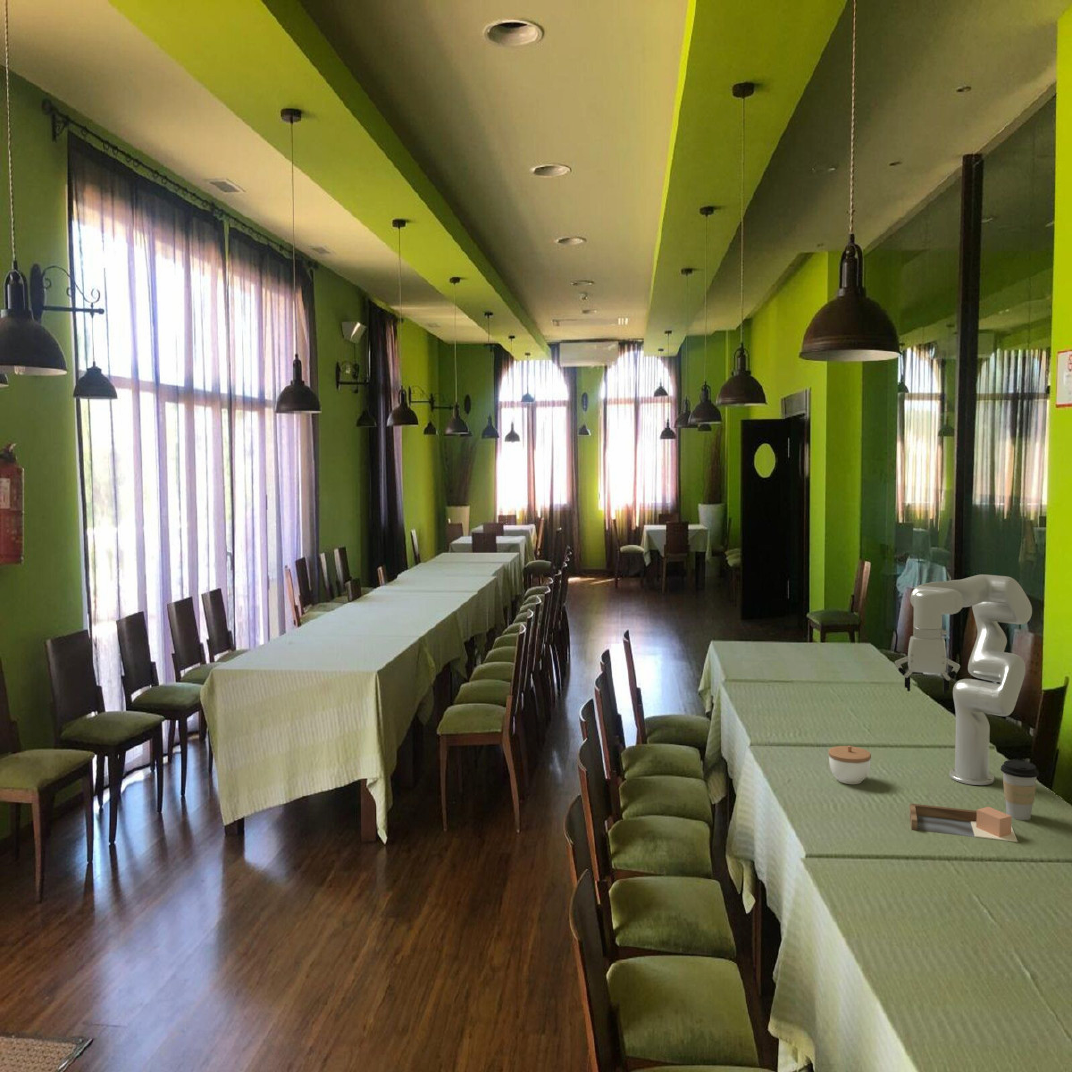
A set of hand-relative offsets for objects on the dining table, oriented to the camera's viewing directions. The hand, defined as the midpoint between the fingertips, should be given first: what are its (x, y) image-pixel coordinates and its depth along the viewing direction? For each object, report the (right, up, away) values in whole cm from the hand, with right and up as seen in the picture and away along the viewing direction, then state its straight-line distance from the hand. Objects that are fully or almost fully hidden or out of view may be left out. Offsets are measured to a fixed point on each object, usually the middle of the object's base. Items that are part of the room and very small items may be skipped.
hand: (926, 691), depth 251 cm
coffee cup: (+22, -34, -9) cm, 41 cm away
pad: (+10, -35, -19) cm, 40 cm away
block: (+10, -34, -19) cm, 40 cm away
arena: (+3, -35, -15) cm, 38 cm away
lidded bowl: (-15, -32, +21) cm, 41 cm away
